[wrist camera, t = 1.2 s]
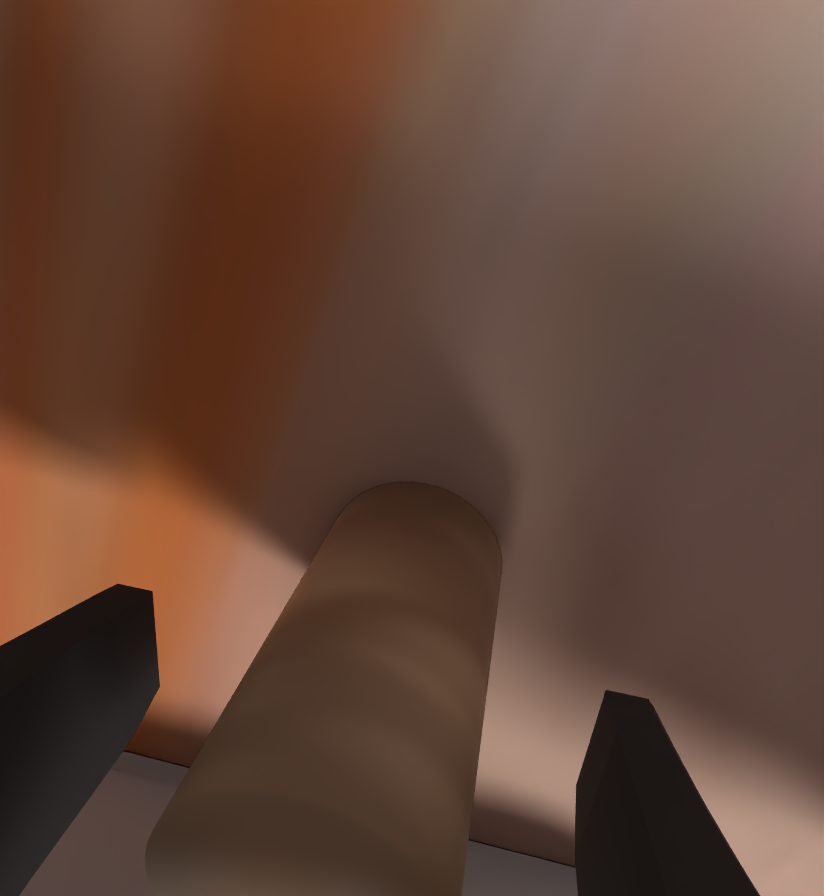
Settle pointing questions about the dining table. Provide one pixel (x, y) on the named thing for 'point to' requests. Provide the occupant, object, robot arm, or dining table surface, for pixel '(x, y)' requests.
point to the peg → (351, 719)
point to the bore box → (143, 802)
